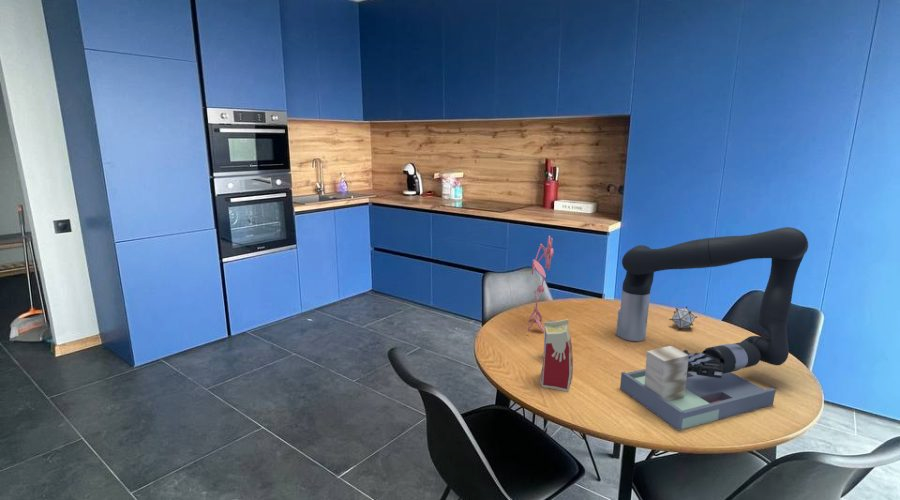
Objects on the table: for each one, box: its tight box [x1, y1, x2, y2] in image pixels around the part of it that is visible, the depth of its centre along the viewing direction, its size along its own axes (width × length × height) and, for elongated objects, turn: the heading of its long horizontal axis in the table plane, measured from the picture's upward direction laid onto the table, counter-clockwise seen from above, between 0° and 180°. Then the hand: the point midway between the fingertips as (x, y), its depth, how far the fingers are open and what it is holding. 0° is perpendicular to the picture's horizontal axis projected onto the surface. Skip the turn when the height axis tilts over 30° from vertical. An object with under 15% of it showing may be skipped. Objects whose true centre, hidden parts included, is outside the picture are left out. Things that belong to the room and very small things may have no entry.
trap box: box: [619, 368, 777, 431], centre depth 128 cm, size 33×21×5 cm, turn 110°
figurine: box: [525, 235, 562, 337], centre depth 172 cm, size 15×26×35 cm, turn 170°
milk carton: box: [539, 318, 574, 393], centre depth 134 cm, size 9×9×20 cm
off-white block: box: [644, 345, 689, 401], centre depth 122 cm, size 8×6×12 cm
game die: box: [668, 306, 698, 331], centre depth 174 cm, size 9×8×10 cm
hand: (677, 368), depth 124 cm, fingers closed
